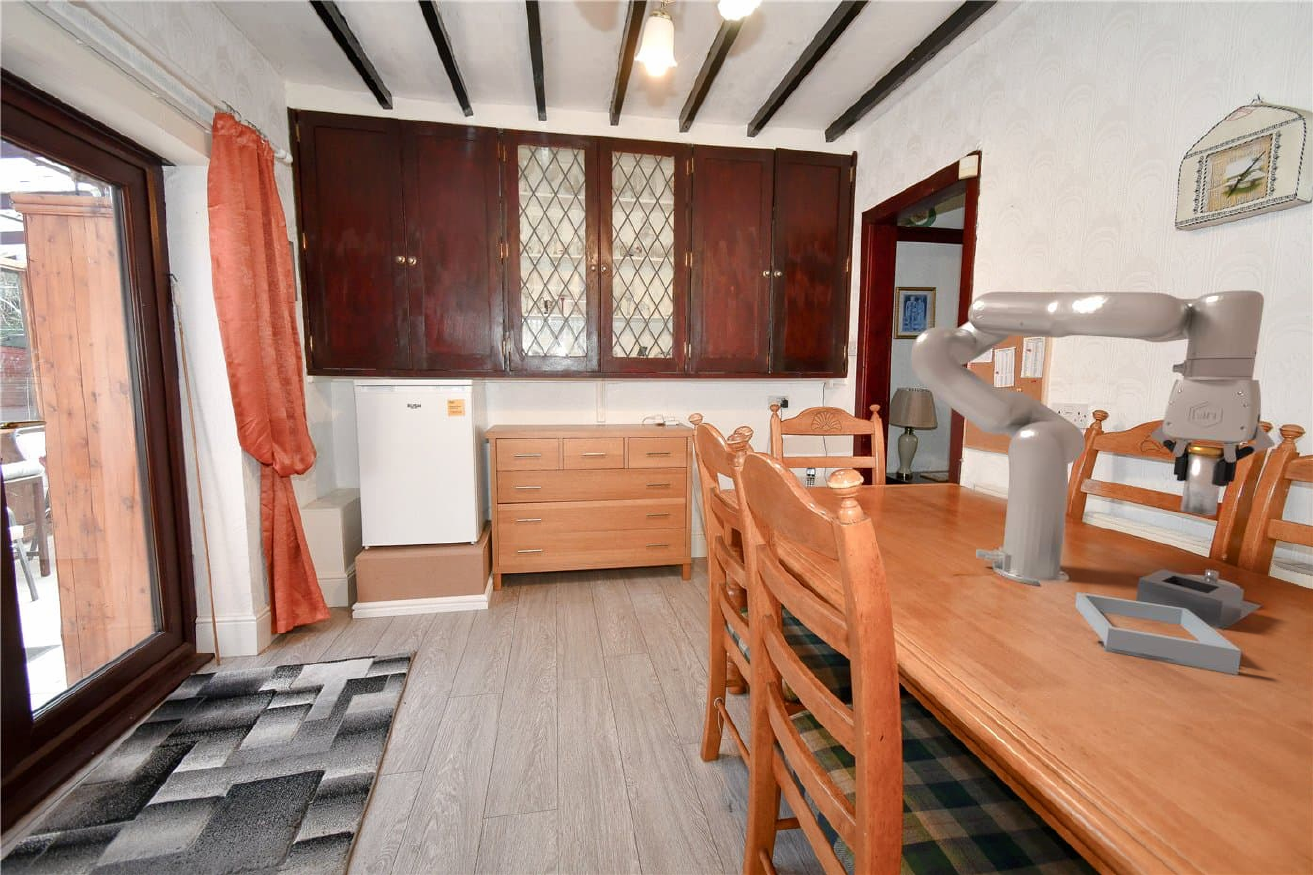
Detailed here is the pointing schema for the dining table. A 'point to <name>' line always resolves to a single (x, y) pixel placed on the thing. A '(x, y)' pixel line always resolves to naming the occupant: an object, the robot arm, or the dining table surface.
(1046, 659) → the dining table surface
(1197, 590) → the dark grey slotted base
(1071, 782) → the dining table surface
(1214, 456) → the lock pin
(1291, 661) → the dining table surface
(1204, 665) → the gray square frame
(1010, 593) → the dining table surface
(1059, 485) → the robot arm
